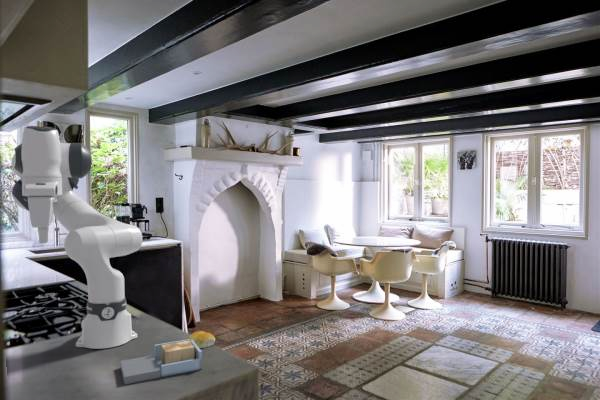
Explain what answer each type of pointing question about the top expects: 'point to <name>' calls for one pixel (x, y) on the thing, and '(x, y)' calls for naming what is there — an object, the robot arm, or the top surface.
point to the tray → (178, 366)
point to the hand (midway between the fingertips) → (43, 242)
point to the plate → (139, 369)
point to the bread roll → (202, 339)
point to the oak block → (177, 352)
